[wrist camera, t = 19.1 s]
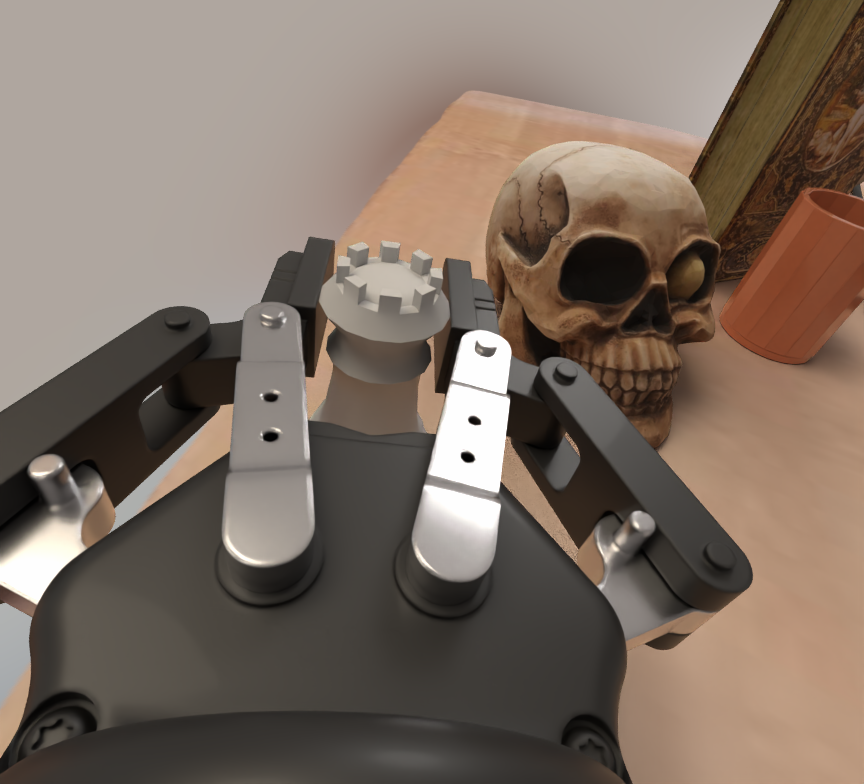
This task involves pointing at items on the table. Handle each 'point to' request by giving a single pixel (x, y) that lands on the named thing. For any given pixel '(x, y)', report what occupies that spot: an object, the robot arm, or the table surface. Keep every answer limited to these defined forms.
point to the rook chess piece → (380, 338)
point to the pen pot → (801, 279)
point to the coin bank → (604, 271)
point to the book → (785, 127)
